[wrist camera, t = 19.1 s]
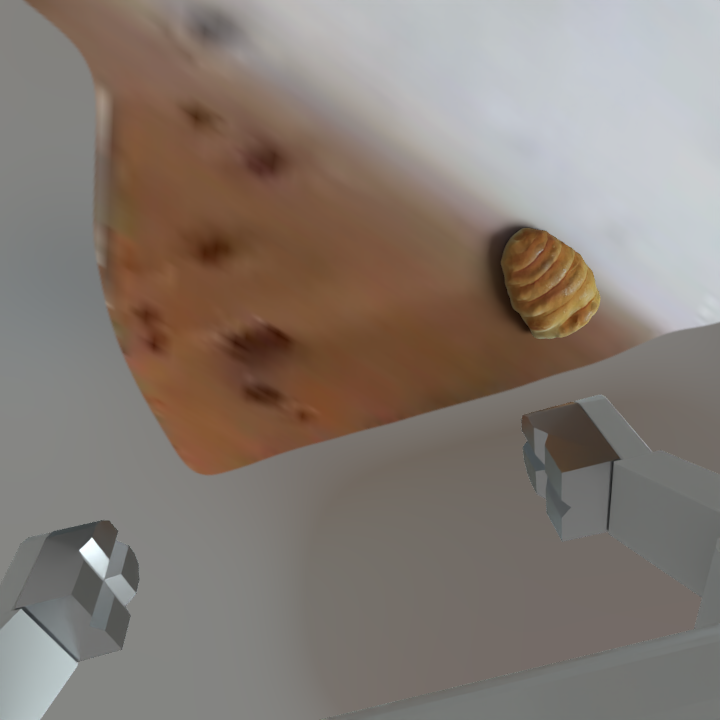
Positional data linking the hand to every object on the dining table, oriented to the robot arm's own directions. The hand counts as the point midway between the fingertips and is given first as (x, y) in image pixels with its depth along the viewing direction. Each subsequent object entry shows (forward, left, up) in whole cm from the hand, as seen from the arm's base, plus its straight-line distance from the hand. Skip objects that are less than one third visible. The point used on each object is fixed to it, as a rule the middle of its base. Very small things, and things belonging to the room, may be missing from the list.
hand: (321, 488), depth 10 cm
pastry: (-19, +11, -32) cm, 39 cm away
